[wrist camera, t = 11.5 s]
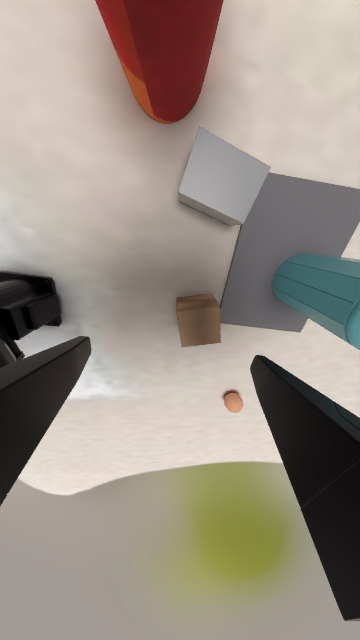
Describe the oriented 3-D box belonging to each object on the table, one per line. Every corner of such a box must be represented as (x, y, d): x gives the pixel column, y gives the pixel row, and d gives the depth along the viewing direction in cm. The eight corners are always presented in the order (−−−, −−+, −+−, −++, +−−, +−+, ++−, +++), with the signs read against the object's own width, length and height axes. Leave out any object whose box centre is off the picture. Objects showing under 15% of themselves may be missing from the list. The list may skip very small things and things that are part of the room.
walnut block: (181, 328, 23) (181, 347, 19) (176, 297, 21) (176, 312, 17) (213, 324, 23) (220, 342, 19) (211, 293, 21) (219, 306, 17)
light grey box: (178, 201, 17) (178, 191, 13) (194, 151, 15) (199, 125, 12) (230, 226, 18) (243, 223, 14) (250, 182, 16) (271, 167, 13)
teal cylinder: (279, 310, 22) (356, 366, 12) (266, 270, 19) (348, 302, 10) (326, 288, 21) (452, 332, 11) (318, 243, 18) (467, 250, 9)
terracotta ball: (220, 399, 30) (224, 416, 27) (224, 388, 29) (229, 403, 26) (236, 401, 30) (242, 417, 28) (241, 389, 29) (248, 405, 26)
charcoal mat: (216, 321, 23) (216, 322, 22) (255, 171, 16) (257, 170, 15) (298, 330, 24) (300, 332, 23) (371, 193, 17) (375, 192, 16)
